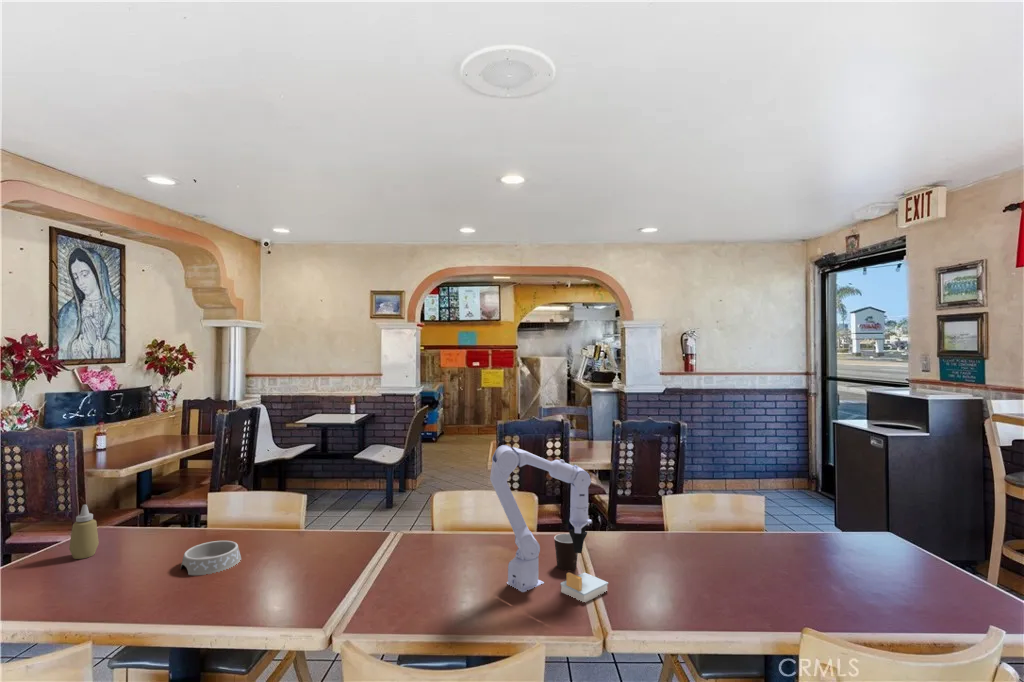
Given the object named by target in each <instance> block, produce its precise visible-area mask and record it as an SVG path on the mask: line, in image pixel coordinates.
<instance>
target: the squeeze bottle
mask: <svg viewBox="0 0 1024 682" xmlns="http://www.w3.org/2000/svg"><path fill="white" fill-rule="evenodd" d="M97 523H98V522H97V520H96V519H94V514H93V513H91V512H90V511H89V507H88V504H82V507H81V510H80V514H78V515H76V516H75V522H73V524H72V528H71V532H70V533H71V535H70V539H69V540H70V541H69V547H68V548H69V552H70V554H71V556H72V558H73V559H74V560H82V559H86V558H90V557H92V556H94V555H95V553H96V551H97V549H98V546H99V544H100V543H99V542H100V541H99V540H100V539H99V534H98V524H97Z"/></svg>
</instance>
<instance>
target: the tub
mask: <svg viewBox="0 0 1024 682" xmlns="http://www.w3.org/2000/svg"><path fill="white" fill-rule="evenodd" d="M560 587H561V590H560V592H561V593H562V594H564V595H567V596H568V595H569V596H568V597H570V596H571V597H570V598H572V597H573V599H574V598H576V599H575V600H577V601H579V600H580V601H579V602H581V601H582V602H581V603H583V602H585V603H587V602H589V601H591V600H593V599H596V598H597V597H599V596H601V595H603V594H605V593H607V592H608V584H607V585H605V586H603V587H601V588H599V589H597V590H595V591H593V592H591V593H589V594H587V595H585V596H583V595H581V594H579V593H577V592H575V591H573V590H571V589H569V588H566V587H564V586H562V585H560ZM606 591H607V592H606ZM604 592H605V593H604ZM600 594H601V595H600ZM598 595H599V596H598Z"/></svg>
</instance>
